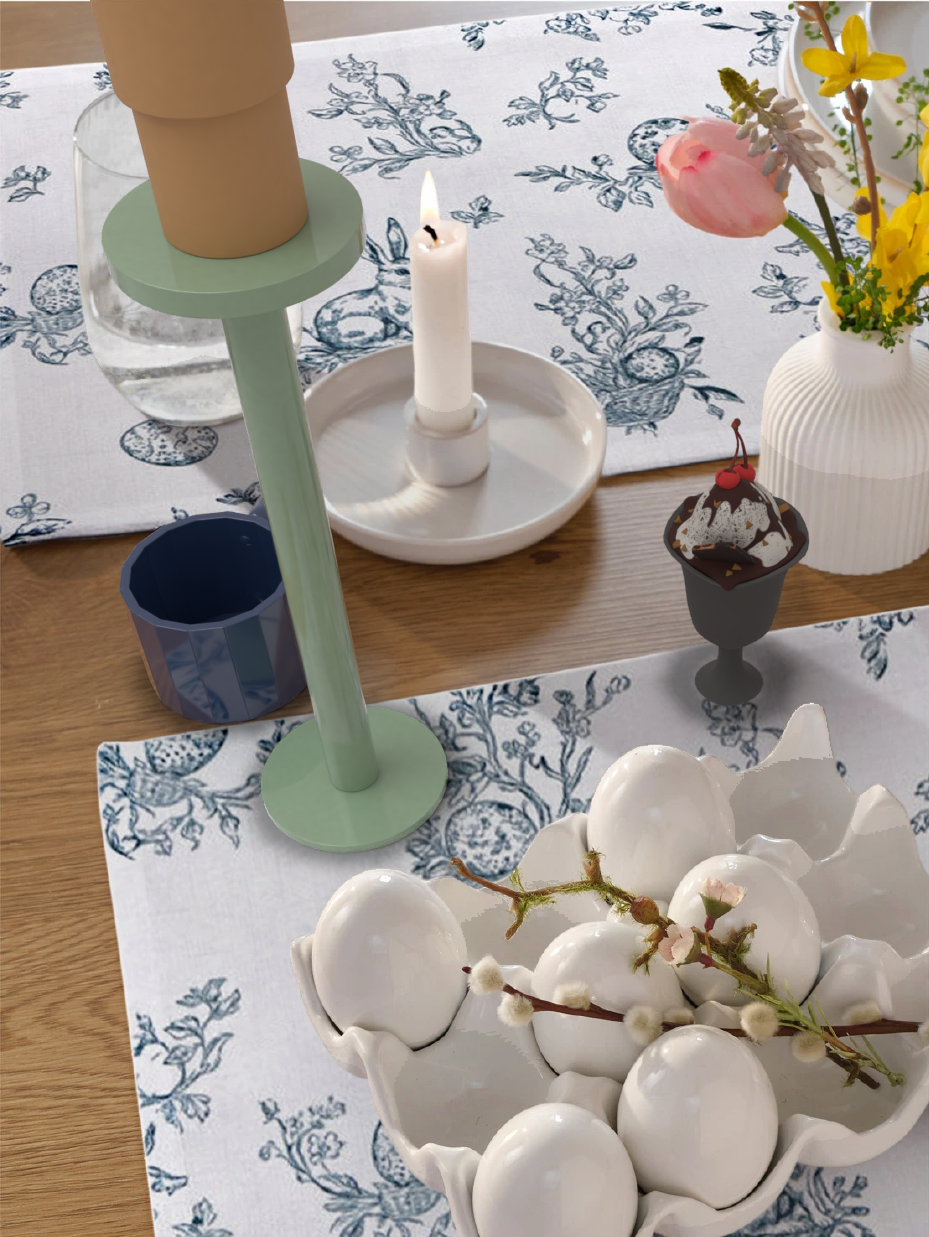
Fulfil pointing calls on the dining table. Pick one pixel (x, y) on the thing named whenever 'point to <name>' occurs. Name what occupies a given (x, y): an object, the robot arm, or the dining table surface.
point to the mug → (213, 617)
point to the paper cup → (210, 117)
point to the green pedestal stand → (295, 513)
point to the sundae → (734, 570)
